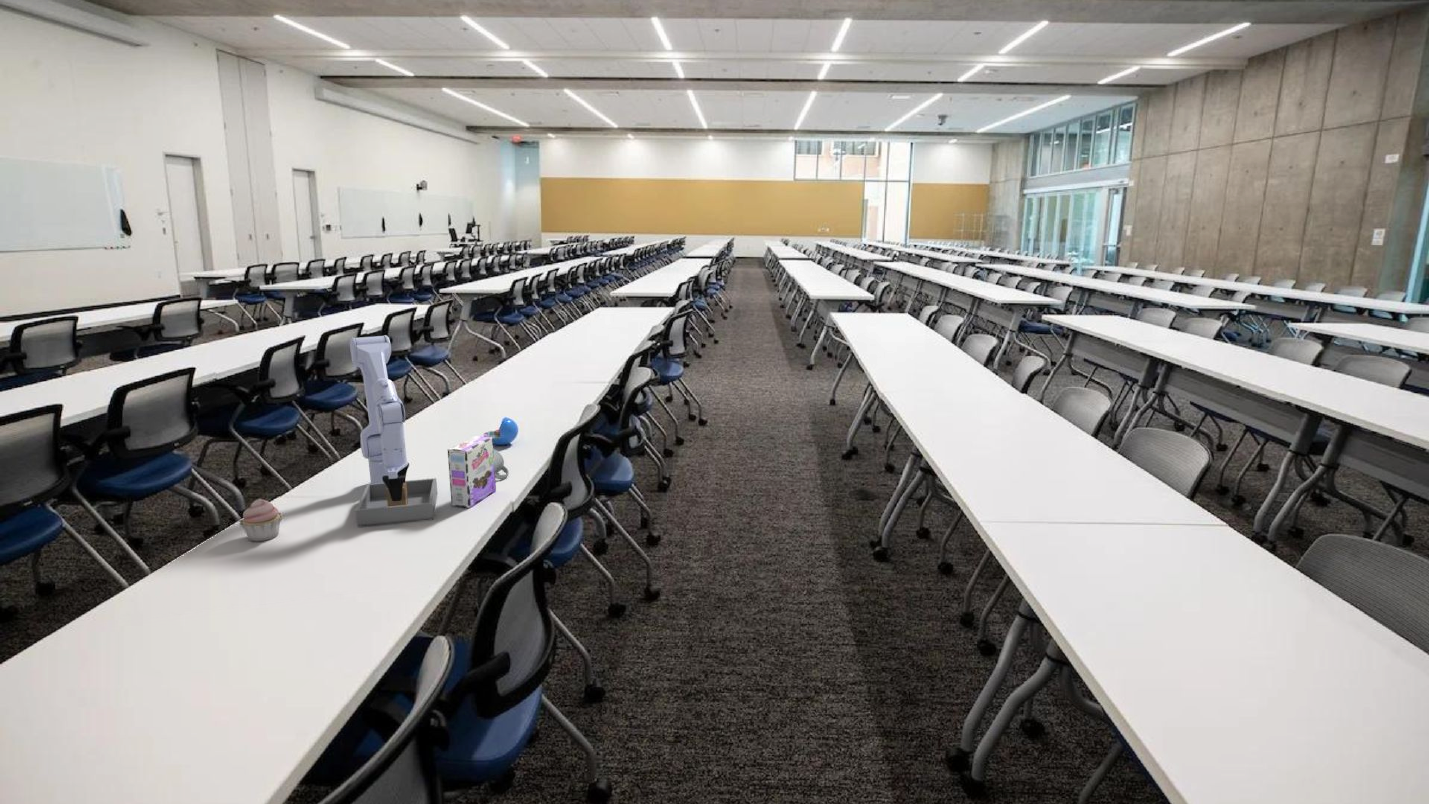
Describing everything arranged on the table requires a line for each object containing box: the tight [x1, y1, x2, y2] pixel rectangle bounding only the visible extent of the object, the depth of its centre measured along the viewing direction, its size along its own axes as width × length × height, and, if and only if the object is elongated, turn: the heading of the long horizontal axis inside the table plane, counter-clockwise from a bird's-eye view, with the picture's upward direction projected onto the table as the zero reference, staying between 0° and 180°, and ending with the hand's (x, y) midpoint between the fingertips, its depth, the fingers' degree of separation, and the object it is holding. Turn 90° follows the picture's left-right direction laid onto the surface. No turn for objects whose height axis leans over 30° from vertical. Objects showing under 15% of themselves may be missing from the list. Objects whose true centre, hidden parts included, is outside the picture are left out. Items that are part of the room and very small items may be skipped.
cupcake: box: [238, 498, 284, 542], centre depth 182 cm, size 9×9×10 cm
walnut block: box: [386, 483, 408, 507], centre depth 200 cm, size 4×4×6 cm
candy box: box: [447, 435, 497, 509], centre depth 207 cm, size 14×6×16 cm, turn 165°
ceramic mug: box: [493, 448, 510, 480], centre depth 225 cm, size 11×8×8 cm
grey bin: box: [355, 477, 438, 528], centre depth 200 cm, size 20×18×4 cm
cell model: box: [483, 416, 519, 446], centre depth 257 cm, size 10×12×10 cm
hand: (398, 495), depth 200 cm, fingers open, 7 cm apart
